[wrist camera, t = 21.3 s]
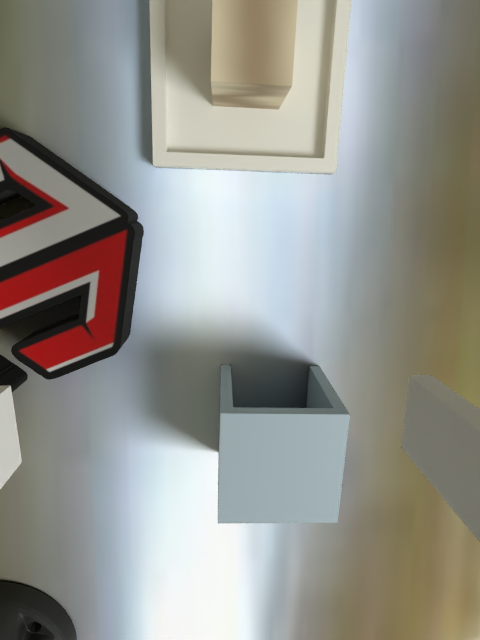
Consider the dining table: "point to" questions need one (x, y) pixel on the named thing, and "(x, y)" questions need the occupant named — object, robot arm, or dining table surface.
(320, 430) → the open box
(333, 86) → the tray
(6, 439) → the robot arm
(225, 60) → the block
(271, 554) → the dining table surface
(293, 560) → the dining table surface
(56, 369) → the emblem
